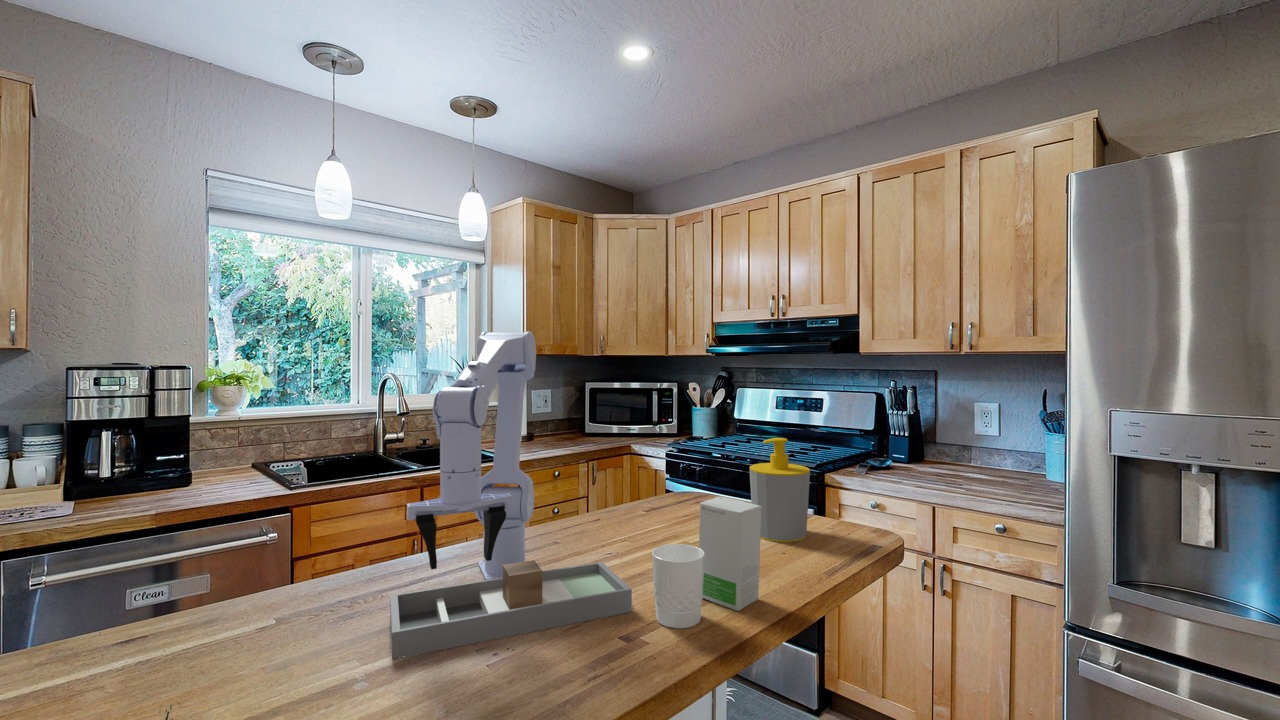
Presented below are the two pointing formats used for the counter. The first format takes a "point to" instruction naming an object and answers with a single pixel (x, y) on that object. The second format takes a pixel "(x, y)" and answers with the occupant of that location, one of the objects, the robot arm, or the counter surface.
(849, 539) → the counter surface
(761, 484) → the soap bottle
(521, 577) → the walnut block
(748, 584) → the skincare box
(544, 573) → the box
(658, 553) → the white cup
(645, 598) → the counter surface
